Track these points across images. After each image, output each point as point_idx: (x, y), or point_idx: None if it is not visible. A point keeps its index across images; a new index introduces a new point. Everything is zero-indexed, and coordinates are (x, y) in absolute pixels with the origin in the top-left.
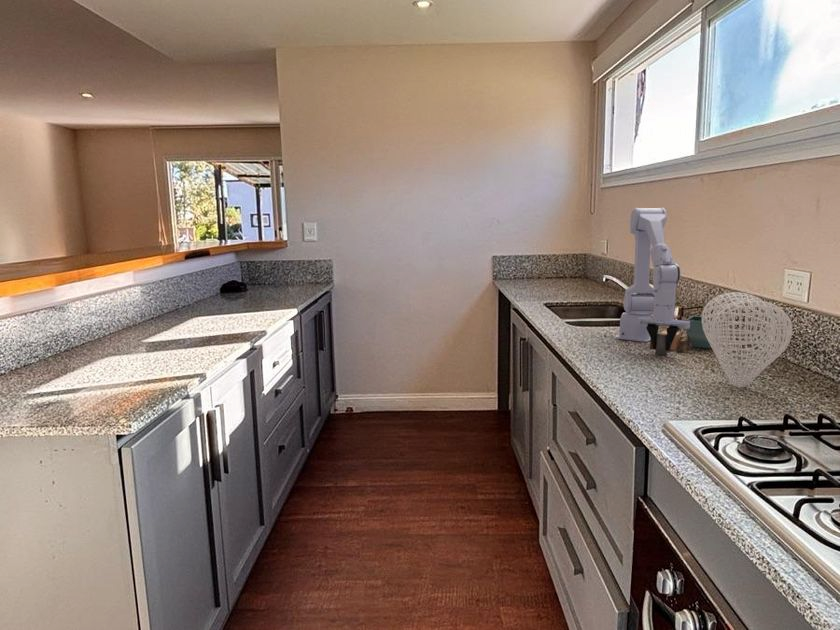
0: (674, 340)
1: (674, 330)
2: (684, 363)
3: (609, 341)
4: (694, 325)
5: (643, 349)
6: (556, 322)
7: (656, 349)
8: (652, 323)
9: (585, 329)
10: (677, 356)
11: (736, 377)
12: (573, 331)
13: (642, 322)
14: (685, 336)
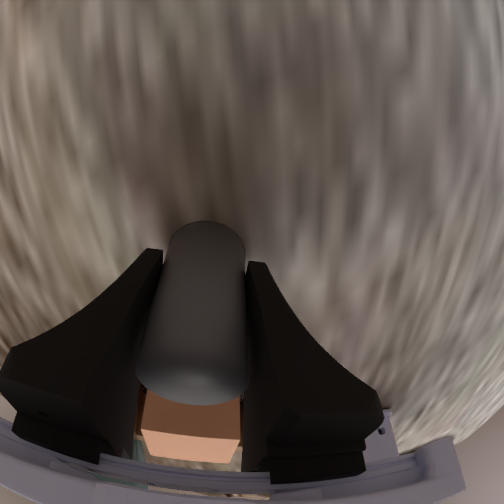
0: (156, 400)
1: (4, 364)
2: (24, 58)
3: (433, 375)
4: (100, 479)
5: (318, 324)
6: (467, 433)
7: (236, 256)
8: (309, 485)
9: (439, 430)
10: (101, 237)
11: None
12: (475, 405)
13: (408, 468)
14: (139, 440)
